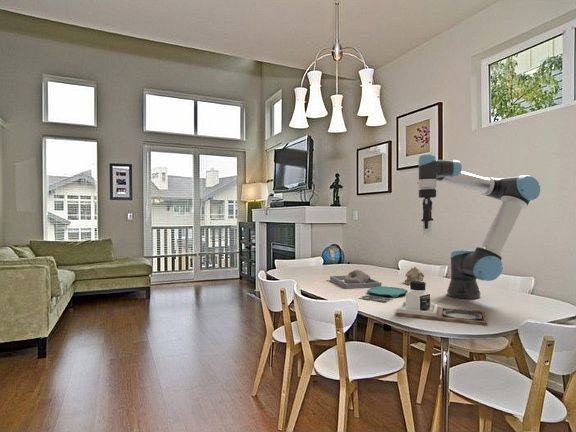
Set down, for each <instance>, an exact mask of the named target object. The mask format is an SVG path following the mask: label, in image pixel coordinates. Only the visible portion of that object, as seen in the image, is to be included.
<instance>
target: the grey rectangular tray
mask: <svg viewBox="0 0 576 432" xmlns="http://www.w3.org/2000/svg"><path fill="white" fill-rule="evenodd" d="M346 276H348V274H347V275H346ZM348 277H349V276H348ZM344 278H345V274H344V275H329V280H330V281H331V282H333V283H335V284H337V285H338V286H340V287H342V288H345V290H347V289H365V288H366V289H371V288H374V287H380V286H382V282H381V281H378V280H376V279H373V278H371V277H370V279H369V280H367V281H366V282H364V283H356V284H347V283H345V282H344Z"/></svg>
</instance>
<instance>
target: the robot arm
mask: <svg viewBox="0 0 576 432" xmlns="http://www.w3.org/2000/svg"><path fill="white" fill-rule="evenodd" d="M417 166H418V182H417V185H418V189H419V190H418V198H419V199H423V200H422V219H421V222H422V236H423V237H431V235H433V232H432V231H433V230H432V229H433V227H432V226H433V223H432V222H433V221H434V218H432V217H433V216H432V211H433V201H432V198H437V181H438V182H441V183H442V182H443V183H445V184H449V185H453V186H455V187H460V188H463V189H467V190H472V191H474V192H478V193H480V194H481V195H483V196H485V197H488V198H493V199H495V200H496V199H497V200H500V201H501V205H500V206H499V209H498V211H497V213H496V214H495V217H494V218H493V220H492V223H491V225H490V227H489V230H488V231H487V233H486V235H485V237H484V240H483V241H482V243H481V245H478V246H476V247H475V249H467V250H465V249H463V250H452V251H451V253H450V281H449V285H448V288H447V289H446V290H447V291H446V292H447V293H446V294H447V296H448V297H451V298H458V299H465V300H472V299H473V300H476V299H479V298H481V291H480V288H479V285H478V282H477V280H479V281H485V282H491V281H494V280H496V279H498V278H499V277H500V276H501V274H502V272H503V262H502V259H503V257H502V254H501V252H502V251H503V249H504V247H505V245H506V242H507V240H508V239H509V237H510V234H511V232H512V230H513V228H514V226H515V224H516V222H517V219H518V217H519V215H520V214H521V212H522V210H523V209H526V208H528V206H529V204H530V201H534V200H536V199H538V197H539V196H540V194H541V185H540V182H539V181H538V179H537V178H536V177H534V176H532V175H522V174H521V175H519V176H511V177H510V176H509V177H499V178H498V177H491V176H489V177H484V176H480V175H477V174H473V173H470V172H467V171H464V170H463V171H462V163H461V161H460V160H456V159H438V158H437V155H435V154H432V153H431V154H422V155H420V156H419V157H418V165H417Z"/></svg>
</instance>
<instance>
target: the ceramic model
mask: <svg viewBox="0 0 576 432" xmlns="http://www.w3.org/2000/svg"><path fill="white" fill-rule="evenodd" d="M405 277H406V278H405V279H404V284H405V285H409V286H410V283H411V282H412V281H423V282H425V286H427V282H426V281H424V278H425V275H424V273H423V272H422V271H421V270H420V269H419V268H418V267H417V266H414V267H411V268H410V269H409V270H408V271H407V272H406V274H405Z"/></svg>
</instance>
